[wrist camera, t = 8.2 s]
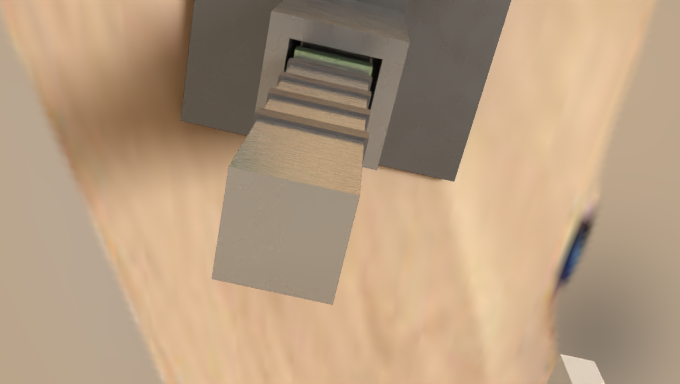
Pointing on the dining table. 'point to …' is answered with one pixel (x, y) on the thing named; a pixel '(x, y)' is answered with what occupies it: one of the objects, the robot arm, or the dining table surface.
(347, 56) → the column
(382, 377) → the dining table surface
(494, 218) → the dining table surface
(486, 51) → the stand
